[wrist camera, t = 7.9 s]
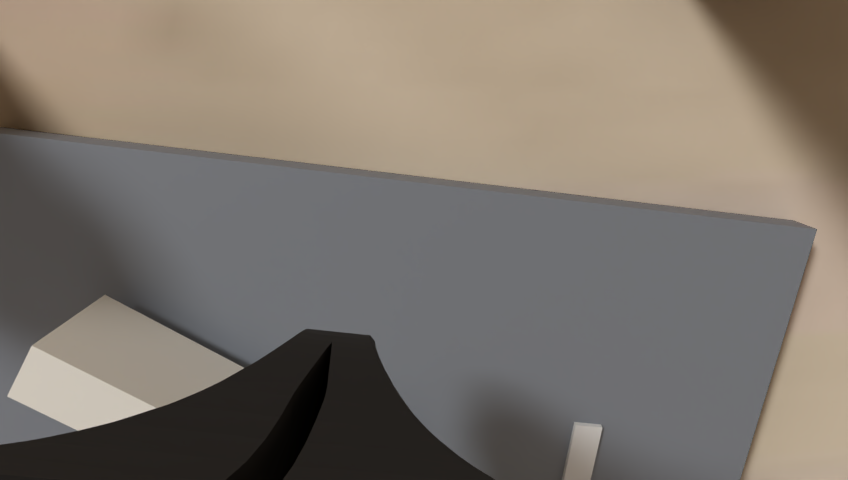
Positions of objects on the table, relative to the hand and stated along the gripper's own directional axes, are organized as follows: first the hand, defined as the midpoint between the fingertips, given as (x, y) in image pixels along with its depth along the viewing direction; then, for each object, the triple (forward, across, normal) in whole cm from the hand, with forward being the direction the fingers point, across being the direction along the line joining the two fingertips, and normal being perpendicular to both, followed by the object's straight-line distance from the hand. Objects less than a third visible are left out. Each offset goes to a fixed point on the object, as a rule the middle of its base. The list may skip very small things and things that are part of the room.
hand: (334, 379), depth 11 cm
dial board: (+6, -1, +6) cm, 8 cm away
